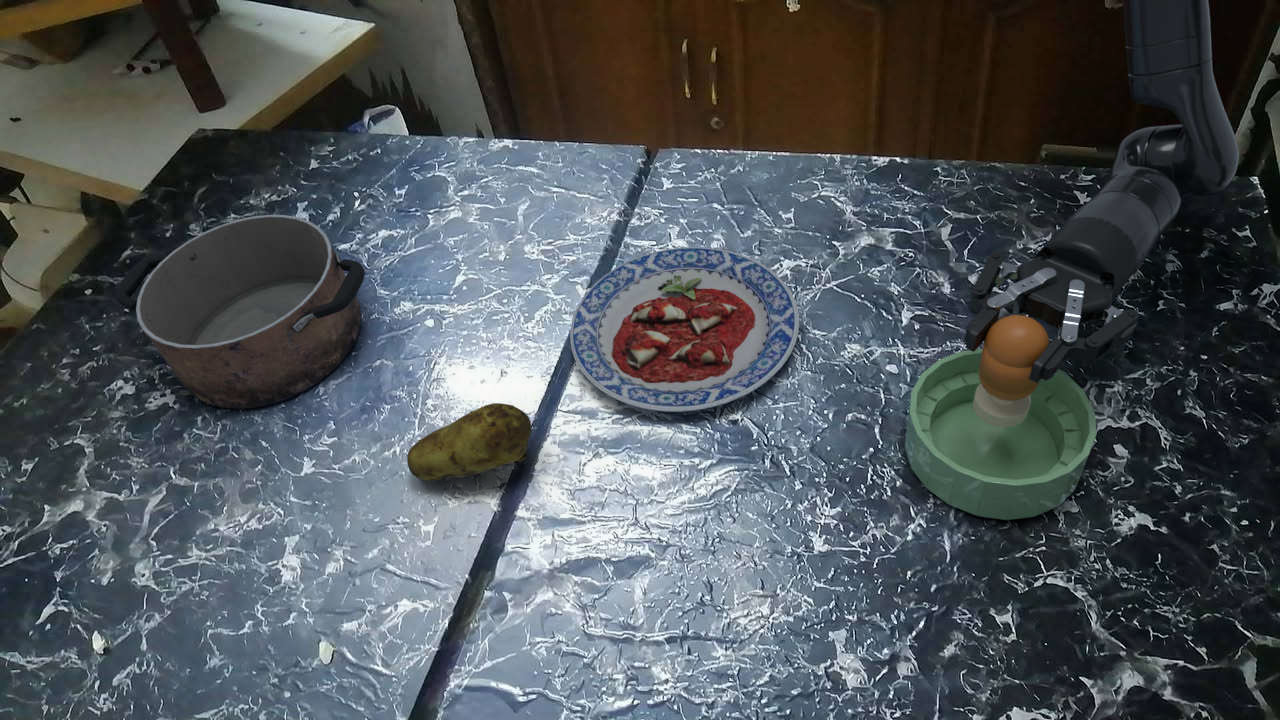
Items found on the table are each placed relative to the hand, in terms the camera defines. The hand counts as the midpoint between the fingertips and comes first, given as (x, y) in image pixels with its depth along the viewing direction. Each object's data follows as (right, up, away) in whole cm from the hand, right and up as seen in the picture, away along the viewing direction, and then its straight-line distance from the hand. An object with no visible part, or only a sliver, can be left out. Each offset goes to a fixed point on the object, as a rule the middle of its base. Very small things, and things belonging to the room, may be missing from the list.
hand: (1002, 358), depth 78 cm
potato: (-47, -11, +19) cm, 52 cm away
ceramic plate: (-25, +3, +28) cm, 38 cm away
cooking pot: (-75, +2, +36) cm, 83 cm away
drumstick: (+3, -4, +8) cm, 9 cm away
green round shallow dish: (+4, -9, +12) cm, 16 cm away
